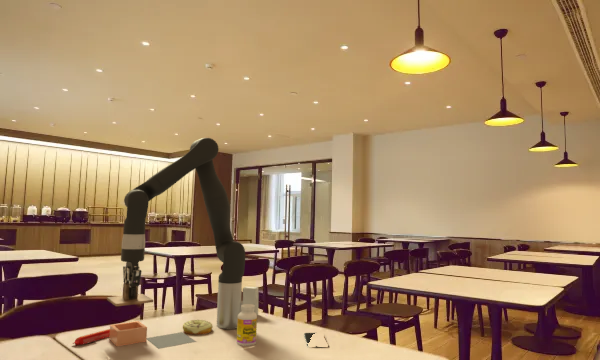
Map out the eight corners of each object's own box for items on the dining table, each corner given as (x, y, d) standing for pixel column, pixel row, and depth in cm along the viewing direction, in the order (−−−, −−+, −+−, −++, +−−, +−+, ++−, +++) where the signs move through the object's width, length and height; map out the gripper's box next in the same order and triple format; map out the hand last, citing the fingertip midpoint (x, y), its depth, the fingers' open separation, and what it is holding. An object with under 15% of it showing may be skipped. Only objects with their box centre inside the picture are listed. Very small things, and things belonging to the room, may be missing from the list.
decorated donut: (196, 338, 141) (196, 327, 142) (176, 332, 147) (177, 322, 148) (217, 331, 150) (218, 321, 150) (198, 326, 156) (198, 316, 156)
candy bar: (113, 334, 145) (114, 325, 145) (120, 335, 143) (121, 327, 143) (70, 346, 131) (71, 336, 131) (77, 348, 129) (78, 338, 129)
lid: (142, 296, 146) (143, 279, 146) (153, 302, 136) (154, 284, 137) (106, 299, 138) (107, 282, 139) (115, 306, 129) (117, 288, 129)
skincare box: (258, 314, 176) (259, 286, 177) (255, 317, 172) (256, 288, 173) (245, 313, 177) (246, 285, 178) (241, 316, 173) (242, 287, 174)
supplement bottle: (240, 348, 132) (241, 308, 133) (233, 342, 138) (235, 304, 139) (259, 345, 135) (260, 306, 136) (252, 339, 141) (253, 302, 142)
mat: (181, 333, 146) (181, 332, 146) (196, 342, 136) (196, 341, 136) (145, 339, 138) (145, 338, 138) (158, 349, 128) (158, 348, 128)
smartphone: (307, 346, 134) (303, 332, 149) (307, 349, 134) (303, 335, 149) (329, 346, 134) (323, 332, 149) (329, 349, 134) (323, 335, 149)
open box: (137, 335, 143) (138, 320, 143) (146, 342, 135) (147, 327, 136) (109, 339, 137) (110, 325, 137) (116, 347, 129) (117, 331, 130)
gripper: (150, 248, 136) (147, 300, 134) (138, 245, 147) (135, 293, 145) (127, 249, 131) (124, 302, 130) (116, 245, 142) (113, 295, 141)
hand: (130, 297), depth 137 cm, fingers closed on lid, 3 cm apart
